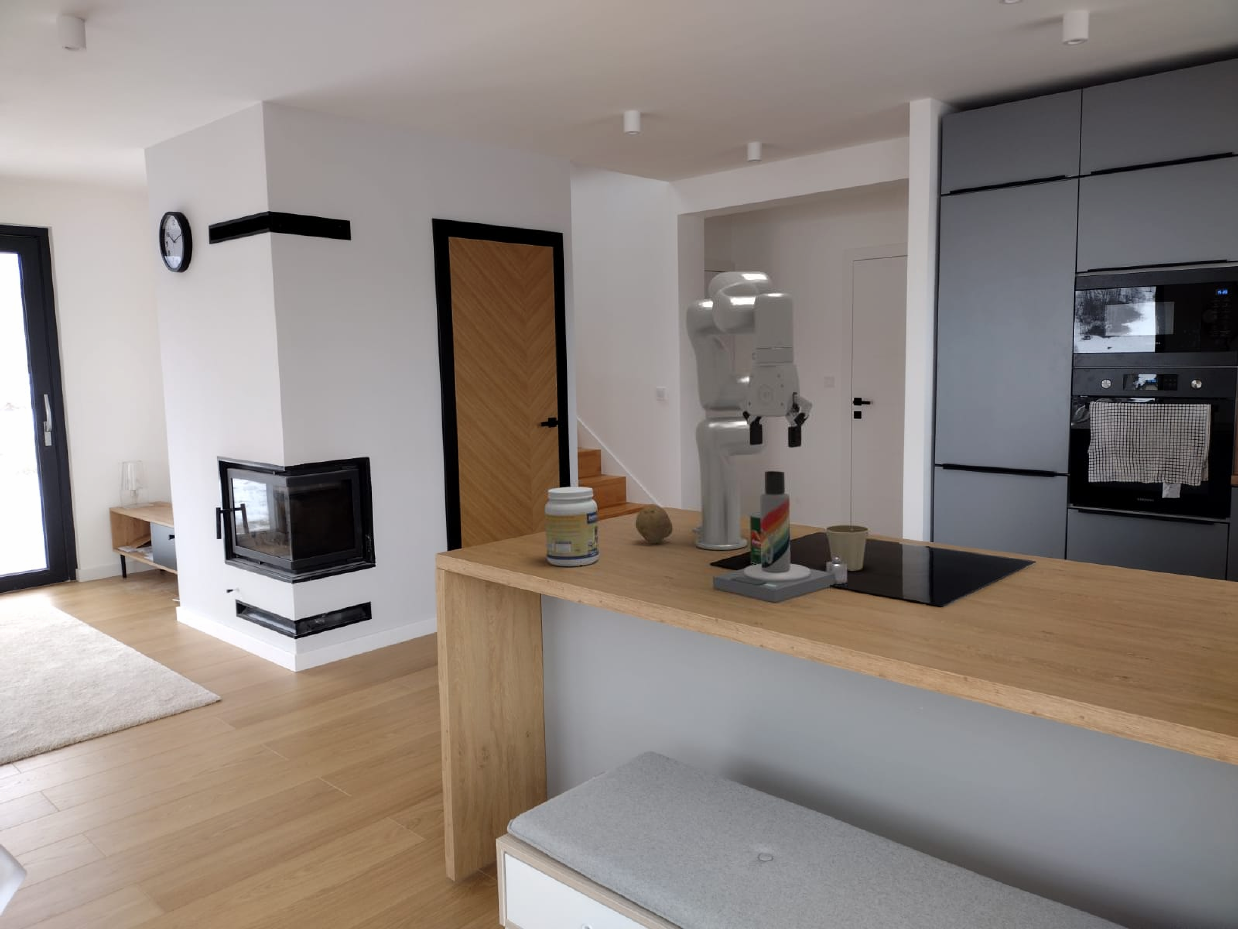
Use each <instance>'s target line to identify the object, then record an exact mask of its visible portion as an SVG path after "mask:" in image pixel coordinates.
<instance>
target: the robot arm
mask: <svg viewBox="0 0 1238 929" xmlns="http://www.w3.org/2000/svg"><path fill="white" fill-rule="evenodd" d="M707 291H708V292H707V293H708V297H709V298H704V299H699V300H695V301H693V302H691V303H690V304H689V305H688V307H687V309H686V312H685V313H686V314H685V325H686V331H687V336H688V339H689V341H690V345H691V346H692V350H693V352H694V356H695V362H696V375H697V388H698V391H697V392H698V399H699V403H700V407H701V408H702V409H703V410H704V411H706V412H713V413H714V412H715V413H722V412H724V413H725V412H727V413H728V412H741V413H742V415H741V416H715V417H714V416H713V417H709V418H706V419H703V420H701V421H700V422H699V423H698V424H697V426H696V428H695V442H696V446H697V452H698V459H699V472H700V476H699V478H700V508H701V509H700V513H701V525H699V524H697V525H696V526H695V527H693V528H692V533H693V534H697V535H698V538H697V539H696V540H695V546H696V547H698V548H699V549H706V550H713V551H715V550H716V551H720V550H721V551H722V550H723V551H725V550H726V551H727V550H728V551H729V550H736V549H743V548H744V547H746V546H747V545H748V540H747V539H746V538H744V537H741V535H742V534H741V496H740V495H741V493H740V491H741V486H740V481H741V480H740V473H739V470H738V468H737V467H736V466H735V464H734V463H733V462H732V461H731V460H730V458H729V457H734V456H750V455H751V456H752V455H753V456H754V455H759V454H762V453H763V452H765V451H766V449H767V448H768V441H769V431H768V430H769V429H768V418H769V417H775V418H779V417H780V418H781V417H785V419H786V420H787V422H788V423H789V425H790V426H788V428H787V446H788V448H789V449H790V448H798V447H799V448H800V447H801V446H802V427H803V426H804V425H805V422H806V421H807V420H808V418H809V416H810V415H809V414H810V413H811V410H812V408H813V403H812V402H810V401H809V400H808V399H805V398H804V397H803V396H801V391H800V390H801V389H800V380H799V373H798V369H797V365H796V364H794V363H795V362H794V351H795V349H794V300H793V297H792V296H791V294H789V293H786V292H774V286H773V282H772V279H771V278H770V276H769V275H768V274H767V273H765V272H763V271H759V270H757V271H755V270H754V271H725V272H721V273H719V274H717V275H715V276H714V277H713V278H711V280H710V282H709V284H708V288H707ZM743 334H744V335H745V334H753V339H754V341H753V344H754V346H753V347H754V352H752V353H751V359H752V360H754V365H752V366H751V367H750V371H749V372H748V371H744V372H742V371H741V372H740V371H738V372H734V371H733V367H732V356H731V353H730V350H729V348H728V347H727V346H726V345H725V343H724V342H723V341H722V340H721V339H720V338H719V337H718V336H716V335H743ZM767 417H768V418H767Z"/></svg>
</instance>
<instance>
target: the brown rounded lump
mask: <svg viewBox="0 0 1238 929" xmlns="http://www.w3.org/2000/svg"><path fill="white" fill-rule="evenodd" d="M635 528H636V530H637V531H638V533H639V534H640V535H641V537H643V539H644V540H645V541H647V542H649V543H650V544H652V545H653V544H654V545H655V544H659V543H660V542H662V541H663V540H664V539H665V538H668V537H669V536H670V535H672V533H673V524H672V521H671V519H670V517H669V515H668V513H667V512H666V510H665V509H664V508H663V507H662V506H660V505H658V504H654V503H651V504H647V505H646V506H643V507H642V508H641V509H640V510H639V512H638V513H637V515H636V518H635Z"/></svg>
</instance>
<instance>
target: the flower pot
mask: <svg viewBox="0 0 1238 929" xmlns="http://www.w3.org/2000/svg"><path fill="white" fill-rule="evenodd" d="M823 531H825V532H826V537H827V540H828V544H829V549H830V551H829V552H830V557H831V559H830V560H832V557H841V562H845V563H847V571H850V572H854V571H860V570H862V569H863V567H864V557H865V549H866V544H867V539H868V537H869V532H871V528H869V527H867V526H865V525H864V526H863V525H858V524H857V525H856V524H836V525H834V524H833V525H829V526H826V527H824V530H823Z"/></svg>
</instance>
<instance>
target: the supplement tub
mask: <svg viewBox="0 0 1238 929" xmlns="http://www.w3.org/2000/svg"><path fill="white" fill-rule="evenodd" d="M593 492H594V490H593V488H592V487H586V486H566V487H565V486H564V487H556V488H551V489H548V491H547V499H548V500H549V501H547V503H545V505H544V515H545V516H544V519H545V521H544V522H545V540H546V541H545V543H546V547H545V548H546V560H547V562H548V564H551V565H552V566H557V567H581V566H580V565H582V566H589V565H591V564H593V563H595V562H596V561H597V560H598V559H599V556H600V548H599V530H598V529H599V528H598V527H599V526H598V525H599V522H598V505H597V502H596V501H595V500H594V499H592V498H593V497H594V493H593Z"/></svg>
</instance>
